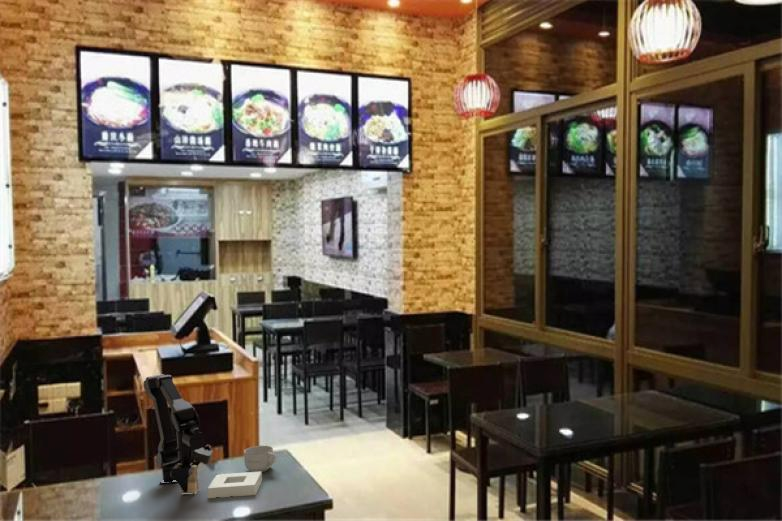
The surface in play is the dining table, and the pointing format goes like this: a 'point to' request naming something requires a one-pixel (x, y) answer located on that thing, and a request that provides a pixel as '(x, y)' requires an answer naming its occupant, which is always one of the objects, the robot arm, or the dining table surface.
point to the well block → (235, 484)
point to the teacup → (259, 458)
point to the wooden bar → (192, 481)
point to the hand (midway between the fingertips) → (189, 487)
